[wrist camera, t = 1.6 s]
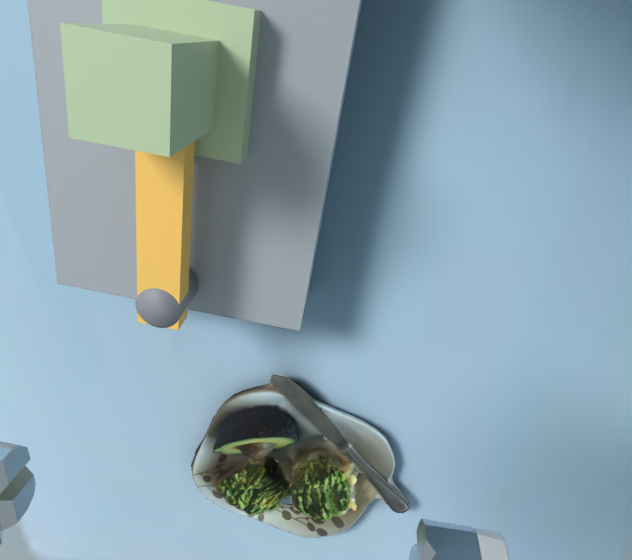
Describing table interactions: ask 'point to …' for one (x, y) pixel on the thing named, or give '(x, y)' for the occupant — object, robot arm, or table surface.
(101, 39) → the plug
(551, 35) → the table surface
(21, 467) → the robot arm
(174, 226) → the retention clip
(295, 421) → the salad plate
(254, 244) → the grey flat block
